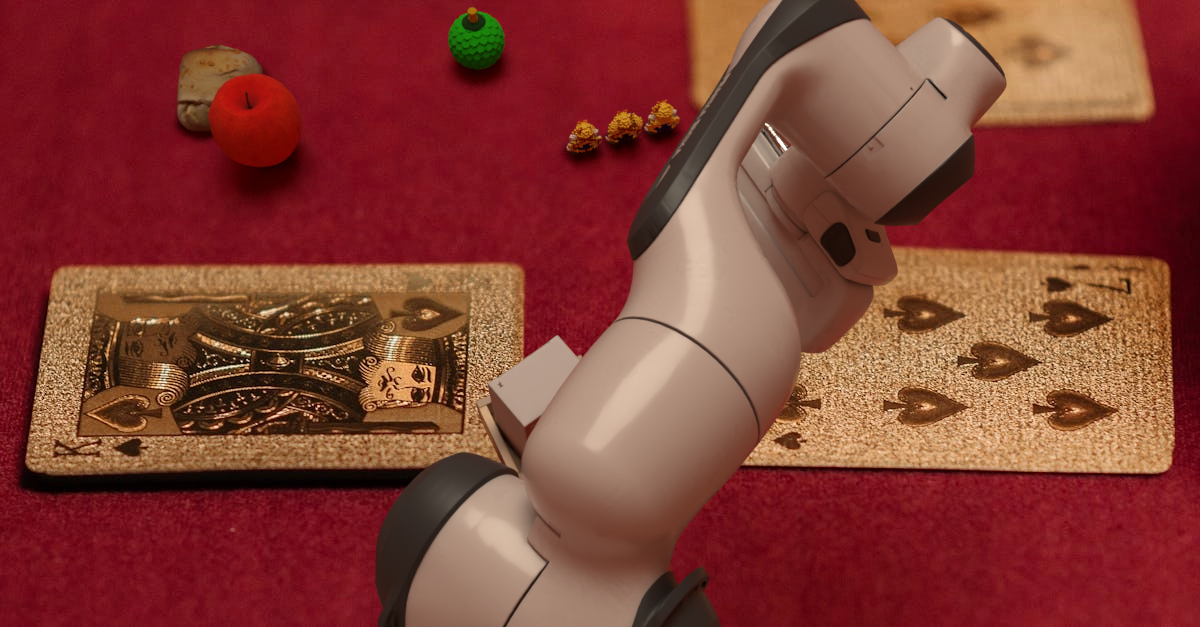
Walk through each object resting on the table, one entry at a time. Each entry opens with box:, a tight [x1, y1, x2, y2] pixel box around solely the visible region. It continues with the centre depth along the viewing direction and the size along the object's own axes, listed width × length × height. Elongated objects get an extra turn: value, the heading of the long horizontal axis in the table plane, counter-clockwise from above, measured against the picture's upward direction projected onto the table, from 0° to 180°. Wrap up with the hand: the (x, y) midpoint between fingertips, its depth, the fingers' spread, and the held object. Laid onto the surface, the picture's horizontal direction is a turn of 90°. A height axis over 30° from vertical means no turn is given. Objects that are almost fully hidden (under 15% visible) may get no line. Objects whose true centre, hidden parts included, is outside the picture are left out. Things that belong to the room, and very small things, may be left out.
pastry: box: [176, 43, 264, 132], centre depth 153 cm, size 14×12×8 cm
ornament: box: [447, 6, 506, 71], centre depth 155 cm, size 8×8×10 cm
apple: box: [208, 73, 303, 168], centre depth 146 cm, size 12×12×13 cm
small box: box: [487, 334, 580, 460], centre depth 100 cm, size 8×6×10 cm
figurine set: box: [565, 99, 681, 157], centre depth 149 cm, size 3×16×7 cm, turn 108°
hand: (707, 298), depth 94 cm, fingers open, 8 cm apart
